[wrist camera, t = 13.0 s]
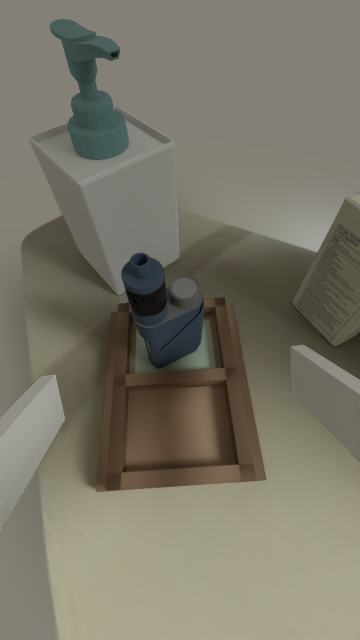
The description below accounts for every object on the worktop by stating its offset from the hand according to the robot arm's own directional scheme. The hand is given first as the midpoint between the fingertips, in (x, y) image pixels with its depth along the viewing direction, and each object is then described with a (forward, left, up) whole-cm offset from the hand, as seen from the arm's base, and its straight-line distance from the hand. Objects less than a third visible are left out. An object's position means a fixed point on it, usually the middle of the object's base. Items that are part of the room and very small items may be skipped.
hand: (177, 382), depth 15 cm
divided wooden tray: (0, -3, -9) cm, 9 cm away
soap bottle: (+5, -19, -9) cm, 22 cm away
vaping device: (0, -6, -8) cm, 10 cm away
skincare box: (-15, -9, -9) cm, 20 cm away
